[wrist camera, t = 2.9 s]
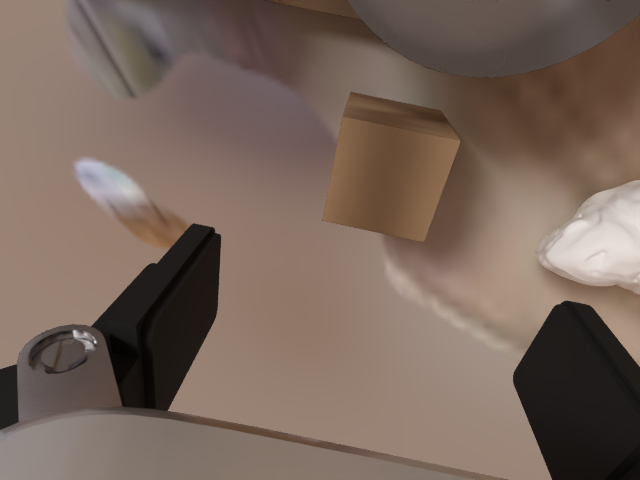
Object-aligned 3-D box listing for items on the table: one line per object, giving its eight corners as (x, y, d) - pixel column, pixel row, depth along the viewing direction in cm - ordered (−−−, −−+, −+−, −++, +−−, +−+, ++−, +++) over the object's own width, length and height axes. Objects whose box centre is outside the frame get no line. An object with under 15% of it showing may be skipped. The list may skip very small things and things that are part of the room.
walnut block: (440, 110, 21) (461, 140, 16) (413, 192, 24) (423, 242, 19) (350, 91, 21) (342, 116, 16) (333, 176, 24) (322, 220, 19)
